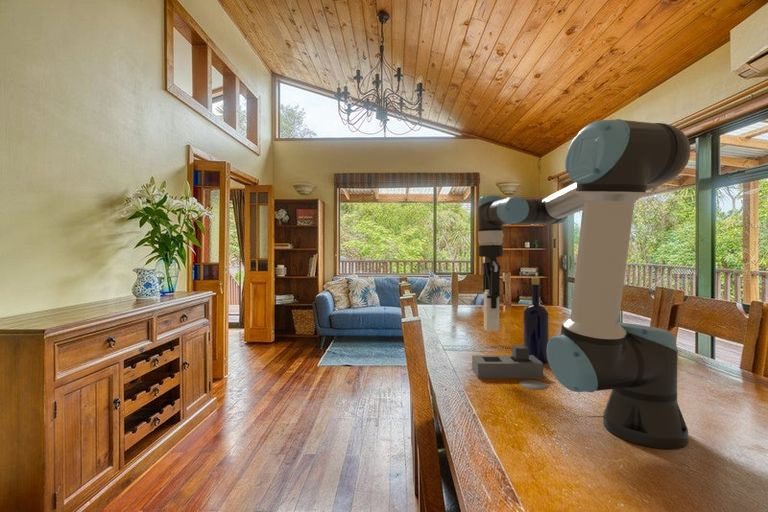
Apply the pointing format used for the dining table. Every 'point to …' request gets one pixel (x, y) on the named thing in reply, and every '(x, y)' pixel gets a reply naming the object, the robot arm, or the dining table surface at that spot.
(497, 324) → the plug
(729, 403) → the dining table surface
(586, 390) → the robot arm
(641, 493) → the dining table surface
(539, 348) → the bottle
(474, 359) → the strip
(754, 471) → the dining table surface
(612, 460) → the dining table surface
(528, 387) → the coaster
